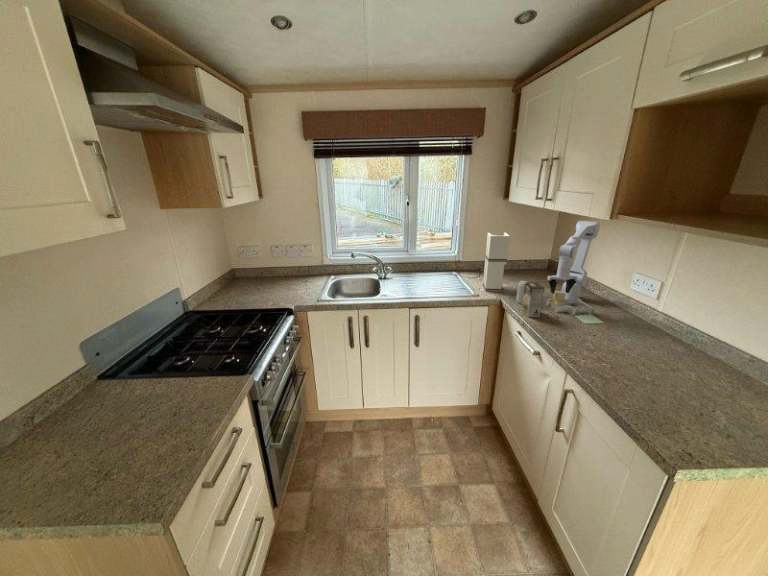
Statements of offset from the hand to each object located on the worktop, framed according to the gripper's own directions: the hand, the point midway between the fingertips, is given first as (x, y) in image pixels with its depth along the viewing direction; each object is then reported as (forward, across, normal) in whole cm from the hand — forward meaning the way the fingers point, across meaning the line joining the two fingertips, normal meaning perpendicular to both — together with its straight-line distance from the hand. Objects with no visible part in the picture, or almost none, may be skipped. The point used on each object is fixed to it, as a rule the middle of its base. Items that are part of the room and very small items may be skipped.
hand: (559, 292), depth 161 cm
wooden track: (+9, +5, -2) cm, 10 cm away
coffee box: (+9, -17, -6) cm, 20 cm away
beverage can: (+9, -15, +9) cm, 20 cm away
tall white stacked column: (+9, -24, +32) cm, 41 cm away
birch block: (+9, 0, 0) cm, 9 cm away
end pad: (+9, +8, -14) cm, 19 cm away
